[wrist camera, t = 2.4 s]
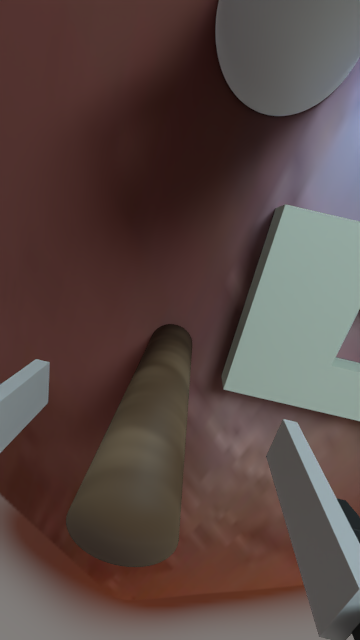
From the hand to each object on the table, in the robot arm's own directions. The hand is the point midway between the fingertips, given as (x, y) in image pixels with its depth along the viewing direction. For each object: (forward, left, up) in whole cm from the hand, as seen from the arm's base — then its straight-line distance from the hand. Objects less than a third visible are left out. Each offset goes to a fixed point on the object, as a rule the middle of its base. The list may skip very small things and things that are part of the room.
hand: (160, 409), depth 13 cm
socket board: (+15, +5, -8) cm, 17 cm away
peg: (0, 0, -8) cm, 8 cm away
